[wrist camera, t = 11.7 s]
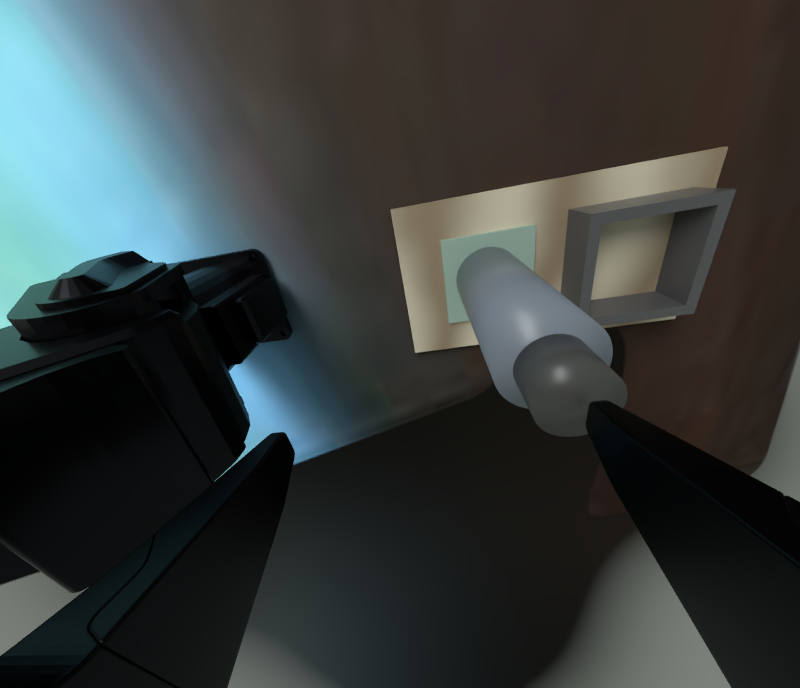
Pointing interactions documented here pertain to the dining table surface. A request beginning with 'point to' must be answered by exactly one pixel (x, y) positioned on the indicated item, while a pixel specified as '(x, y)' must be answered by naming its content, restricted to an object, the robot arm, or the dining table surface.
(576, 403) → the capped bottle
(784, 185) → the dining table surface
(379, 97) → the dining table surface
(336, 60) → the dining table surface
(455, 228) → the board
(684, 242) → the gray square frame
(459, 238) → the pad
